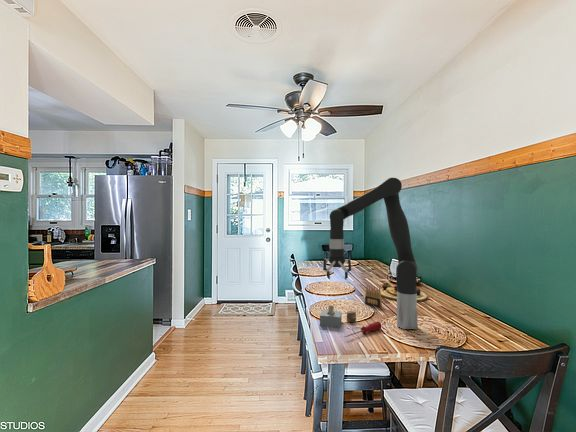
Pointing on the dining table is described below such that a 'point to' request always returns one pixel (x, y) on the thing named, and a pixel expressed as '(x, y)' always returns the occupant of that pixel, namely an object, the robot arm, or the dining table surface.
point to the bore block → (330, 318)
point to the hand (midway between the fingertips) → (337, 279)
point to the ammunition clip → (373, 297)
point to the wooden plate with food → (392, 293)
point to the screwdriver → (369, 328)
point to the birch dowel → (330, 309)
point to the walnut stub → (351, 316)
